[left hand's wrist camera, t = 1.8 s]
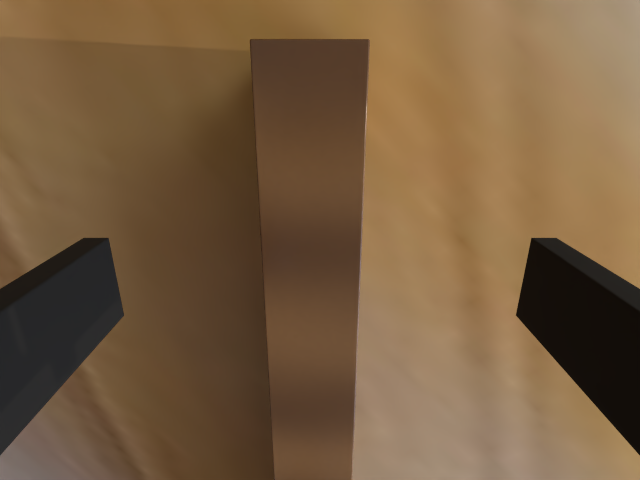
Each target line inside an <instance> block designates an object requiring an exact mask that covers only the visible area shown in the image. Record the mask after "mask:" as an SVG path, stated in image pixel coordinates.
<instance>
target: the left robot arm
mask: <svg viewBox="0 0 640 480" xmlns="http://www.w3.org/2000/svg"><path fill="white" fill-rule="evenodd" d="M123 316H124V313H123V308H122V303H121V298H120V293H119V288H118V283H117V278H116V273H115V268H114V263H113V258H112V253H111V248H110V243H109V238H83V239H81V240H80V241H78V242H76V243H75V244H73V245H72V246H70V247H68V248H67V249H65V250H63V251H62V252H60V253H58V254H57V255H55V256H54V257H52V258H50V259H49V260H47V261H45V262H44V263H42V264H40V265H39V266H37V267H36V268H34V269H32V270H31V271H29V272H27V273H26V274H24V275H22V276H21V277H19V278H18V279H16V280H14V281H13V282H11V283H9V284H8V285H6V286H4V287H3V288H1V289H0V455H1V454H2V453H3V452H4V450H5V449H6V448H7V447H8V446H9V445H10V444H11V443H12V441H13V440H14V439H15V438H16V437H17V436H18V435H19V433H20V432H21V431H22V430H23V429H24V428H25V427H26V426H27V424H28V423H29V422H30V421H31V420H32V419H33V418H34V417H35V415H36V414H37V413H38V412H39V411H40V410H41V409H42V407H43V406H44V405H45V404H46V403H47V402H48V401H49V400H50V398H51V397H52V396H53V395H54V394H55V393H56V392H57V391H58V389H59V388H60V387H61V386H62V385H63V384H64V383H65V381H66V380H67V379H68V378H69V377H70V376H71V375H72V374H73V372H74V371H75V370H76V369H77V368H78V367H79V366H80V364H81V363H82V362H83V361H84V360H85V359H86V358H87V357H88V355H89V354H90V353H91V352H92V351H93V350H94V349H95V348H96V346H97V345H98V344H99V343H100V342H101V341H102V340H103V338H104V337H105V336H106V335H107V334H108V333H109V332H110V331H111V329H112V328H113V327H114V326H115V325H116V324H117V323H118V322H119V320H120V319H121V318H122V317H123ZM516 316H517V317H518V318H519V319H520V320H521V322H522V323H523V324H524V325H525V326H526V327H527V328H528V329H529V331H530V332H531V333H532V334H533V335H534V336H535V337H536V338H537V340H538V341H539V342H540V343H541V344H542V345H543V346H544V348H545V349H546V350H547V351H548V352H549V353H550V354H551V355H552V357H553V358H554V359H555V360H556V361H557V362H558V363H559V364H560V366H561V367H562V368H563V369H564V370H565V371H566V372H567V374H568V375H569V376H570V377H571V378H572V379H573V380H574V381H575V383H576V384H577V385H578V386H579V387H580V388H581V389H582V391H583V392H584V393H585V394H586V395H587V396H588V397H589V398H590V400H591V401H592V402H593V403H594V404H595V405H596V406H597V407H598V409H599V410H600V411H601V412H602V413H603V414H604V415H605V417H606V418H607V419H608V420H609V421H610V422H611V423H612V424H613V426H614V427H615V428H616V429H617V430H618V431H619V432H620V433H621V435H622V436H623V437H624V438H625V439H626V440H627V441H628V443H629V444H630V445H631V446H632V447H633V448H634V449H635V450H636V452H637V453H638V454H639V455H640V289H639V288H637V287H636V286H634V285H632V284H631V283H629V282H627V281H626V280H624V279H622V278H621V277H619V276H618V275H616V274H614V273H613V272H611V271H609V270H608V269H606V268H604V267H603V266H601V265H600V264H598V263H596V262H595V261H593V260H591V259H590V258H588V257H586V256H585V255H583V254H582V253H580V252H578V251H577V250H575V249H573V248H572V247H570V246H568V245H567V244H565V243H564V242H562V241H560V240H559V239H557V238H531V243H530V248H529V253H528V258H527V263H526V268H525V273H524V278H523V283H522V288H521V293H520V298H519V303H518V308H517V313H516Z"/></svg>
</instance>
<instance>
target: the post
mask: <svg viewBox="0 0 640 480" xmlns="http://www.w3.org/2000/svg"><path fill="white" fill-rule="evenodd" d="M369 47H370V40H369V39H251V40H250V52H251V70H252V88H253V106H254V124H255V142H256V159H257V177H258V195H259V213H260V231H261V249H262V267H263V285H264V303H265V321H266V339H267V356H268V374H269V392H270V410H271V428H272V446H273V464H274V480H352V473H353V448H354V423H355V398H356V373H357V348H358V323H359V298H360V273H361V247H362V222H363V197H364V172H365V147H366V122H367V97H368V72H369Z"/></svg>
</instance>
